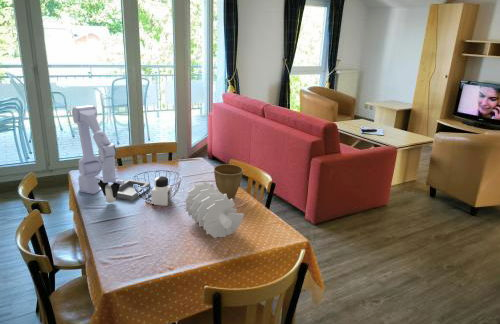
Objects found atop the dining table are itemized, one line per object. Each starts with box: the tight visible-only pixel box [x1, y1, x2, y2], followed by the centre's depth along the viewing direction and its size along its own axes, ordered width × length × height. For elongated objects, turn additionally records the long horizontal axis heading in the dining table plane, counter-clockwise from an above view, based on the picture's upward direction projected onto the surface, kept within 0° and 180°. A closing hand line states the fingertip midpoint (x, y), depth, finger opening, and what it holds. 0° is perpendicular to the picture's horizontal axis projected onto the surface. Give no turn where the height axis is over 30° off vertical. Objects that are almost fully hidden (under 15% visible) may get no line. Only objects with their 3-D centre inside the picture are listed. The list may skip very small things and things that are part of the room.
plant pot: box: [213, 163, 244, 200], centre depth 193 cm, size 15×15×16 cm
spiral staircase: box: [184, 181, 245, 239], centre depth 164 cm, size 18×18×25 cm
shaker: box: [105, 183, 117, 204], centre depth 180 cm, size 4×4×8 cm
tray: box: [116, 178, 151, 202], centre depth 195 cm, size 13×17×3 cm
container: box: [150, 175, 172, 207], centre depth 185 cm, size 8×8×13 cm
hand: (110, 196), depth 180 cm, fingers closed on shaker, 4 cm apart
